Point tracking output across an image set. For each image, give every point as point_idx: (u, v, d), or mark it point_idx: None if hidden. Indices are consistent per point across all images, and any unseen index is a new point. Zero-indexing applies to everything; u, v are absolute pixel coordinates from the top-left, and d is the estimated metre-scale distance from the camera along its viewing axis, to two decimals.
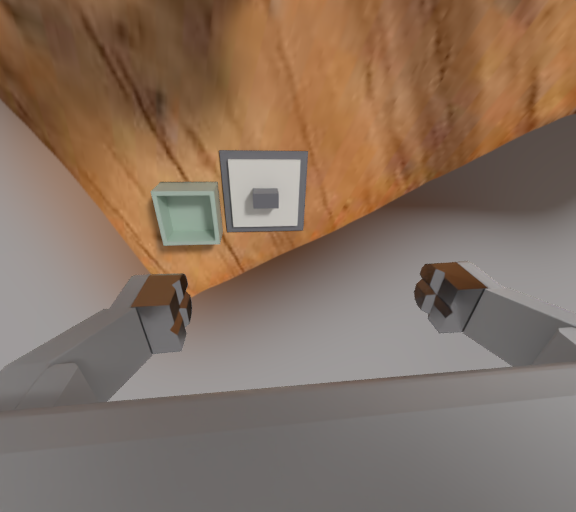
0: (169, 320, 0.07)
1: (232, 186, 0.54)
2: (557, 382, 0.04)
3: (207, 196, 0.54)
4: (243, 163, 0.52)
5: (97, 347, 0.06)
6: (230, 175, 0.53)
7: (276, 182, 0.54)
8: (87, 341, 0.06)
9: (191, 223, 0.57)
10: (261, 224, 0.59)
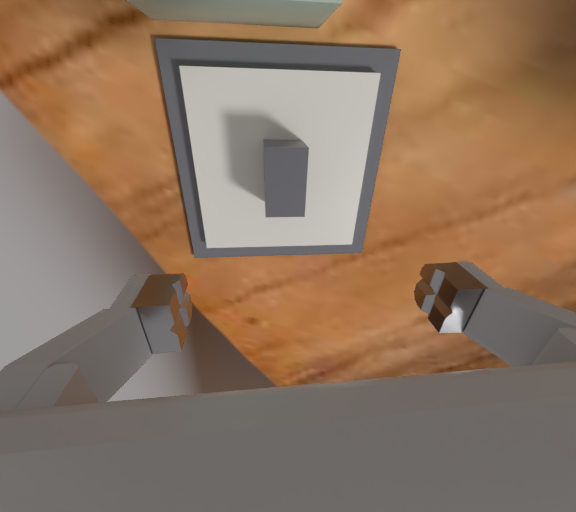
0: (169, 320, 0.07)
1: (310, 78, 0.19)
2: (557, 382, 0.04)
3: None
4: (363, 119, 0.21)
5: (97, 347, 0.06)
6: (340, 76, 0.19)
7: (312, 198, 0.24)
8: (86, 341, 0.06)
9: None
10: (199, 160, 0.21)
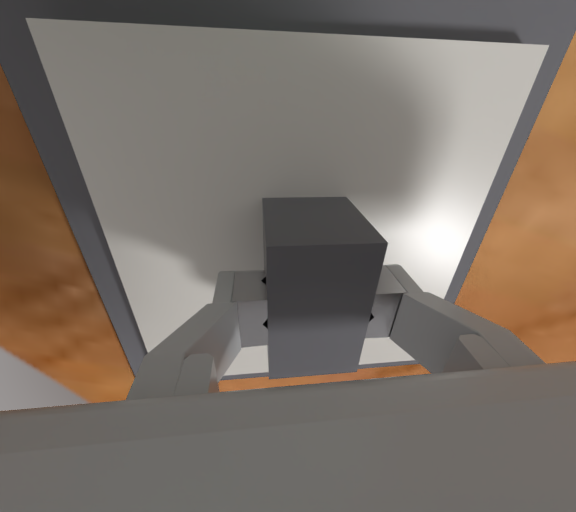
0: (264, 314, 0.07)
1: (379, 58, 0.08)
2: (557, 382, 0.04)
3: None
4: (485, 152, 0.09)
5: (212, 339, 0.06)
6: (453, 52, 0.08)
7: None
8: (207, 333, 0.06)
9: None
10: (122, 242, 0.10)
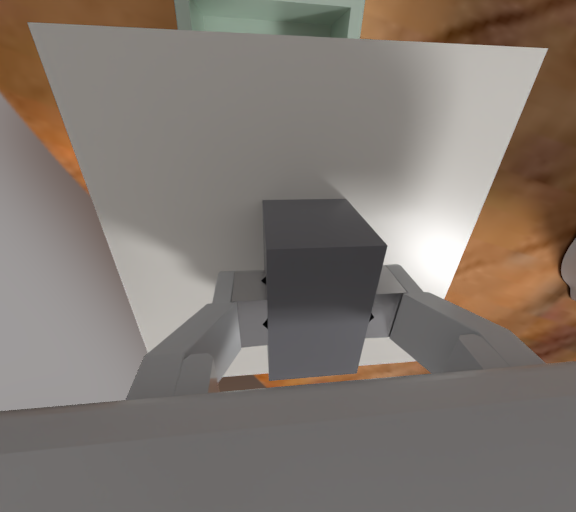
0: (264, 315, 0.07)
1: (378, 61, 0.08)
2: (557, 382, 0.04)
3: None
4: (484, 155, 0.09)
5: (211, 339, 0.06)
6: (452, 55, 0.08)
7: None
8: (206, 333, 0.06)
9: None
10: (123, 244, 0.10)
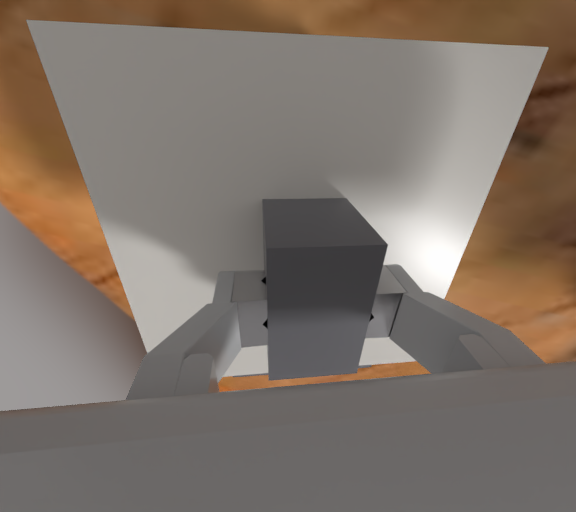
0: (264, 314, 0.07)
1: (379, 60, 0.08)
2: (557, 382, 0.04)
3: None
4: (485, 153, 0.09)
5: (211, 339, 0.06)
6: (452, 54, 0.08)
7: None
8: (206, 333, 0.06)
9: None
10: (122, 243, 0.10)
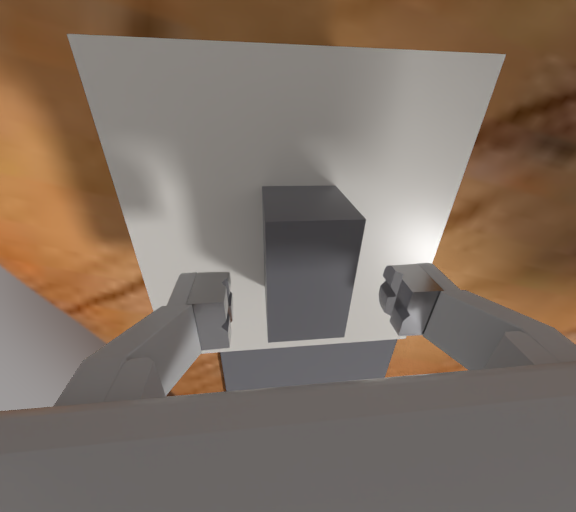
0: (222, 317, 0.07)
1: (360, 65, 0.09)
2: (557, 382, 0.04)
3: None
4: (456, 146, 0.11)
5: (161, 343, 0.06)
6: (423, 60, 0.09)
7: None
8: (153, 337, 0.06)
9: None
10: (139, 225, 0.11)
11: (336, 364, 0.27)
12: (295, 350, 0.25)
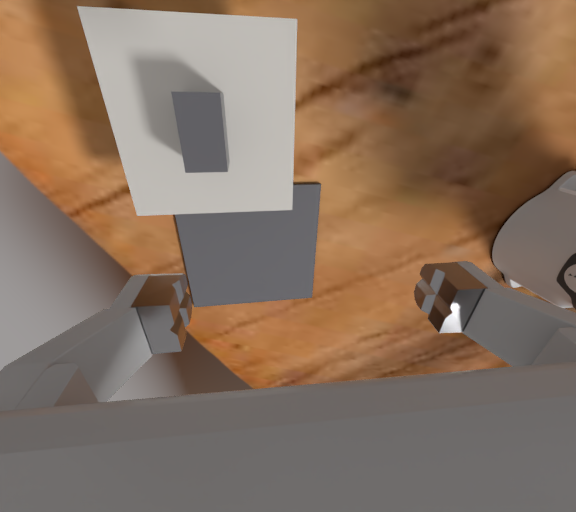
0: (169, 320, 0.07)
1: (223, 24, 0.18)
2: (557, 382, 0.04)
3: None
4: (286, 70, 0.20)
5: (97, 347, 0.06)
6: (255, 21, 0.18)
7: (244, 159, 0.23)
8: (86, 341, 0.06)
9: None
10: (115, 115, 0.20)
11: (273, 268, 0.36)
12: (239, 253, 0.35)
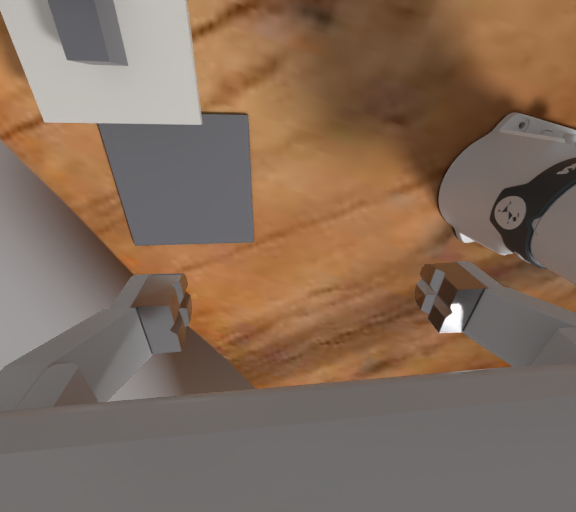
0: (169, 320, 0.07)
1: None
2: (557, 382, 0.04)
3: None
4: None
5: (97, 347, 0.06)
6: None
7: (142, 63, 0.23)
8: (87, 341, 0.06)
9: None
10: (5, 7, 0.21)
11: (210, 206, 0.37)
12: (174, 188, 0.35)
